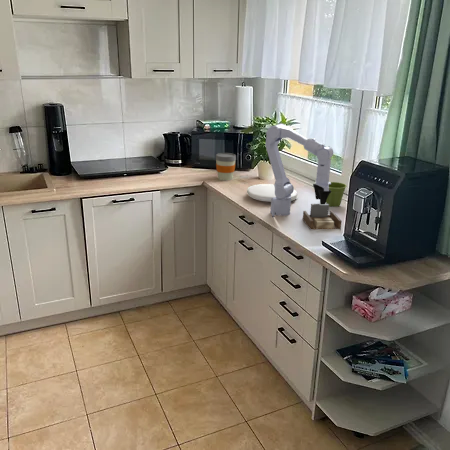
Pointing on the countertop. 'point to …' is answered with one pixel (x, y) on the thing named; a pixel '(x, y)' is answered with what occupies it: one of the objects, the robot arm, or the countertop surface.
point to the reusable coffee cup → (225, 165)
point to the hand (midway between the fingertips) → (320, 201)
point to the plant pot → (335, 194)
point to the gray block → (319, 210)
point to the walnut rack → (333, 216)
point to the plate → (265, 192)
